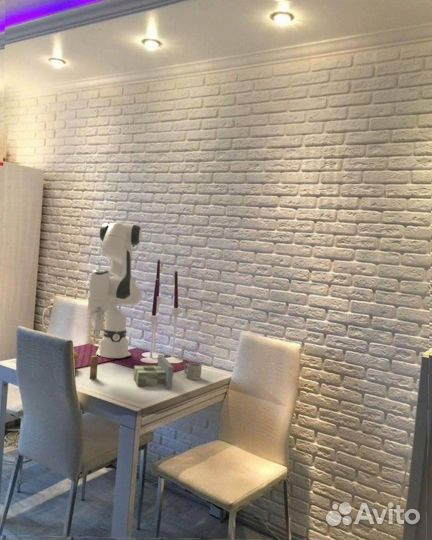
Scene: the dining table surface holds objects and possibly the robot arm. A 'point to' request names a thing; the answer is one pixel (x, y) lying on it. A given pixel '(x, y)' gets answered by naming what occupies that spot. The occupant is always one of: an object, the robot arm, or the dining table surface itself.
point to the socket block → (149, 376)
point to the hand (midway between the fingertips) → (96, 336)
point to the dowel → (93, 367)
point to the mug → (193, 371)
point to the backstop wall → (166, 371)
